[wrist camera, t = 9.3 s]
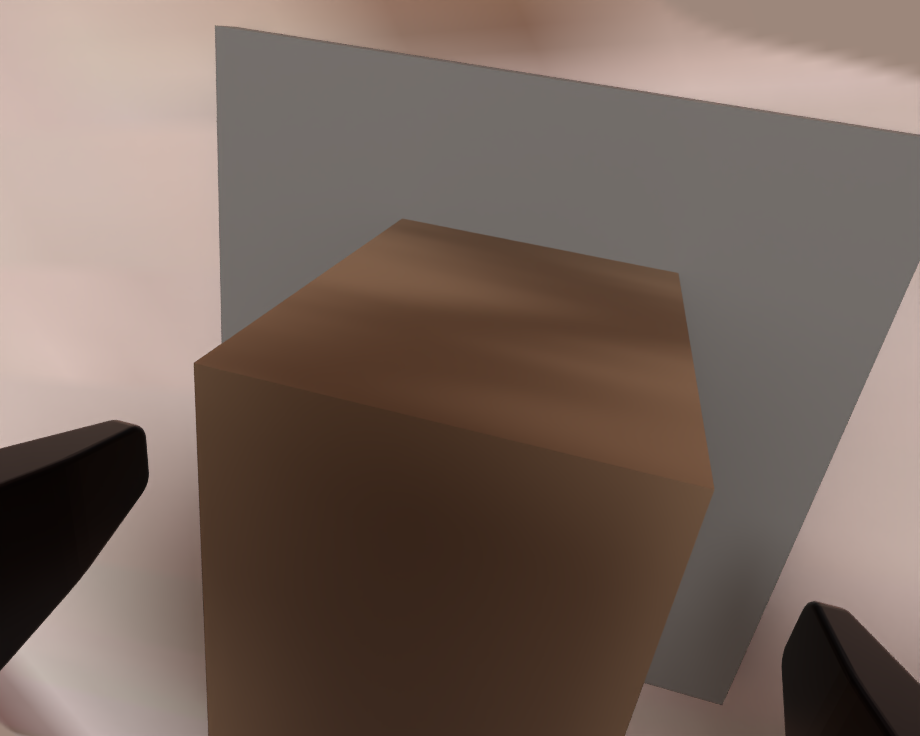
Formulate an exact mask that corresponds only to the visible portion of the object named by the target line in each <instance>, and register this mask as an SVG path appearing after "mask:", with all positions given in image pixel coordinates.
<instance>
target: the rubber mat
mask: <svg viewBox="0 0 920 736" xmlns="http://www.w3.org/2000/svg"><path fill="white" fill-rule="evenodd" d="M215 47H216V95H217V143H218V190H219V238H220V286H221V334H222V343H223V342H225V341H226V340H228V339H229V338H231V337H232V336H233V335H235V334H236V333H238V332H239V331H241V330H242V329H244V328H245V327H246V326H248V325H249V324H251V323H252V322H254V321H255V320H257V319H258V318H259V317H261V316H262V315H264V314H265V313H267V312H268V311H270V310H271V309H272V308H274V307H275V306H277V305H278V304H280V303H281V302H283V301H284V300H285V299H287V298H288V297H290V296H291V295H293V294H294V293H295V292H297V291H298V290H300V289H301V288H303V287H304V286H306V285H307V284H308V283H310V282H311V281H313V280H314V279H316V278H317V277H319V276H320V275H321V274H323V273H324V272H326V271H327V270H329V269H330V268H332V267H333V266H334V265H336V264H337V263H339V262H340V261H342V260H343V259H344V258H346V257H347V256H349V255H350V254H352V253H353V252H355V251H356V250H357V249H359V248H360V247H362V246H363V245H365V244H366V243H368V242H369V241H370V240H372V239H373V238H375V237H376V236H378V235H379V234H381V233H382V232H383V231H385V230H386V229H388V228H389V227H391V226H392V225H393V224H395V223H396V222H398V221H399V220H401V219H402V218H403V219H408V220H413V221H418V222H423V223H428V224H433V225H438V226H443V227H448V228H453V229H458V230H463V231H468V232H473V233H479V234H484V235H489V236H494V237H499V238H504V239H509V240H514V241H519V242H524V243H529V244H534V245H539V246H544V247H549V248H554V249H559V250H564V251H570V252H575V253H580V254H585V255H590V256H595V257H600V258H605V259H610V260H615V261H620V262H625V263H630V264H635V265H640V266H645V267H650V268H655V269H661V270H666V271H671V272H676V273H678V274H679V280H680V286H681V292H682V298H683V304H684V310H685V316H686V322H687V328H688V334H689V340H690V346H691V352H692V358H693V364H694V370H695V376H696V382H697V388H698V394H699V400H700V406H701V412H702V418H703V424H704V430H705V436H706V442H707V448H708V454H709V460H710V466H711V472H712V478H713V484H714V492H713V495H712V498H711V501H710V503H709V506H708V509H707V512H706V514H705V517H704V520H703V522H702V525H701V528H700V531H699V533H698V536H697V539H696V542H695V544H694V547H693V550H692V553H691V555H690V558H689V561H688V564H687V566H686V569H685V572H684V575H683V577H682V580H681V583H680V585H679V588H678V591H677V594H676V596H675V599H674V602H673V605H672V607H671V610H670V613H669V616H668V618H667V621H666V624H665V627H664V629H663V632H662V635H661V637H660V640H659V643H658V646H657V648H656V651H655V654H654V657H653V659H652V662H651V665H650V668H649V670H648V673H647V676H646V679H645V681H644V683H647V684H650V685H654V686H657V687H661V688H664V689H668V690H671V691H675V692H678V693H682V694H685V695H688V696H692V697H695V698H699V699H702V700H706V701H709V702H713V703H716V704H720V705H722V704H723V702H724V700H725V698H726V695H727V693H728V691H729V689H730V686H731V684H732V682H733V680H734V677H735V675H736V673H737V671H738V668H739V666H740V664H741V662H742V659H743V657H744V655H745V653H746V650H747V648H748V646H749V644H750V641H751V639H752V637H753V635H754V632H755V630H756V628H757V626H758V623H759V621H760V619H761V617H762V614H763V612H764V610H765V608H766V605H767V603H768V601H769V599H770V596H771V594H772V592H773V590H774V587H775V585H776V583H777V581H778V578H779V576H780V574H781V572H782V569H783V567H784V565H785V563H786V560H787V558H788V556H789V554H790V551H791V549H792V547H793V545H794V542H795V540H796V538H797V536H798V533H799V531H800V529H801V527H802V524H803V522H804V520H805V518H806V515H807V513H808V511H809V509H810V506H811V504H812V502H813V500H814V497H815V495H816V493H817V491H818V488H819V486H820V484H821V482H822V479H823V477H824V475H825V473H826V470H827V468H828V466H829V464H830V461H831V459H832V457H833V455H834V452H835V450H836V448H837V446H838V443H839V441H840V439H841V437H842V434H843V432H844V430H845V428H846V425H847V423H848V421H849V419H850V416H851V414H852V412H853V410H854V407H855V405H856V403H857V401H858V398H859V396H860V394H861V391H862V389H863V387H864V385H865V382H866V380H867V378H868V376H869V373H870V371H871V369H872V367H873V364H874V362H875V360H876V358H877V355H878V353H879V351H880V349H881V346H882V344H883V342H884V340H885V337H886V335H887V333H888V331H889V328H890V326H891V324H892V322H893V319H894V317H895V315H896V313H897V310H898V308H899V306H900V304H901V301H902V299H903V297H904V295H905V292H906V290H907V288H908V286H909V283H910V281H911V279H912V277H913V274H914V272H915V270H916V268H917V265H918V263H919V261H920V135H917V134H911V133H904V132H898V131H892V130H885V129H879V128H873V127H866V126H860V125H854V124H847V123H841V122H835V121H828V120H822V119H816V118H809V117H803V116H797V115H790V114H784V113H778V112H771V111H765V110H759V109H752V108H746V107H740V106H733V105H727V104H721V103H714V102H708V101H702V100H695V99H689V98H683V97H676V96H670V95H664V94H657V93H651V92H645V91H638V90H632V89H626V88H619V87H613V86H607V85H600V84H594V83H588V82H581V81H575V80H569V79H562V78H556V77H550V76H543V75H537V74H531V73H524V72H518V71H512V70H505V69H499V68H493V67H486V66H480V65H474V64H467V63H461V62H455V61H448V60H442V59H436V58H429V57H423V56H417V55H410V54H404V53H398V52H391V51H385V50H378V49H372V48H366V47H359V46H353V45H347V44H340V43H334V42H328V41H321V40H315V39H309V38H302V37H296V36H290V35H283V34H277V33H271V32H264V31H258V30H252V29H245V28H239V27H229V26H215Z"/></svg>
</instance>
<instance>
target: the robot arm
mask: <svg viewBox="0 0 920 736" xmlns="http://www.w3.org/2000/svg"><path fill="white" fill-rule="evenodd" d="M148 477H149V469H148V456H147V444H146V435H145V432H144V430H143V429H142V428H141V427H140V426H138V425H134V424H131V423H127V422H123V421H119V420H111V421H106V422H103V423H99V424H95V425H91V426H87V427H83V428H79V429H75V430H71V431H67V432H63V433H59V434H55V435H52V436H48V437H44V438H40V439H36V440H32V441H28V442H24V443H20V444H16V445H12V446H8V447H4V448H1V449H0V671H1V670H2V668H3V667H4V666H5V665H6V664H7V663H8V662H9V661H10V659H11V658H12V657H13V656H14V655H15V654H16V653H17V651H18V650H19V649H20V648H21V647H22V646H23V645H24V643H25V642H26V641H27V640H28V639H29V638H30V637H31V635H32V634H33V633H34V632H35V631H36V630H37V629H38V627H39V626H40V625H41V624H42V623H43V622H44V621H45V619H46V618H47V617H48V616H49V615H50V614H51V613H52V611H53V610H54V609H55V608H56V607H57V606H58V605H59V603H60V602H61V601H62V600H63V599H64V598H65V597H66V595H67V594H68V593H69V592H70V591H71V590H72V588H73V587H74V586H75V585H76V584H77V582H78V581H79V580H80V579H81V578H82V576H83V575H84V574H85V572H86V571H87V570H88V568H89V567H90V566H91V564H92V563H93V562H94V560H95V559H96V558H97V556H98V555H99V553H100V552H101V551H102V549H103V548H104V546H105V545H106V544H107V542H108V541H109V539H110V538H111V537H112V535H113V534H114V532H115V531H116V530H117V528H118V527H119V525H120V524H121V523H122V521H123V520H124V518H125V517H126V516H127V514H128V513H129V511H130V510H131V509H132V507H133V506H134V504H135V503H136V502H137V500H138V499H139V497H140V496H141V495H142V493H143V491H144V490H145V488H146V485H147V482H148ZM782 682H783V700H784V718H785V736H920V684H919V683H918V682H917V681H916V680H915V679H914V678H913V677H912V676H911V675H910V674H909V673H908V672H907V671H906V670H905V668H904V667H903V666H902V665H901V664H900V663H899V662H898V661H897V660H896V659H895V658H894V657H893V656H892V655H891V654H890V653H889V652H888V651H887V650H886V649H885V648H884V647H883V646H882V645H881V644H880V643H879V642H878V641H877V640H876V639H875V638H874V637H873V636H872V635H871V634H870V633H869V632H868V631H867V630H866V629H865V628H864V627H863V626H862V625H861V624H860V623H859V621H858V620H857V619H856V618H855V617H854V616H853V615H852V614H851V613H849V612H848V611H847V610H845V609H843V608H840V607H836V606H832V605H828V604H824V603H820V602H817V601H813V602H810V603H808V604H807V605H806V606H805V607H804V609H803V611H802V613H801V615H800V617H799V619H798V621H797V623H796V625H795V627H794V629H793V632H792V634H791V636H790V638H789V640H788V642H787V644H786V646H785V649H784V652H783V657H782Z"/></svg>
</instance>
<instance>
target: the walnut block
mask: <svg viewBox="0 0 920 736" xmlns="http://www.w3.org/2000/svg"><path fill="white" fill-rule="evenodd" d="M194 382H195V407H196V433H197V458H198V483H199V509H200V534H201V559H202V584H203V610H204V635H205V660H206V685H207V711H208V736H625V733H626V731H627V728H628V725H629V722H630V720H631V717H632V714H633V711H634V709H635V706H636V703H637V700H638V698H639V695H640V692H641V690H642V687H643V684H644V681H645V679H646V676H647V673H648V670H649V668H650V665H651V662H652V659H653V657H654V654H655V651H656V648H657V646H658V643H659V640H660V637H661V635H662V632H663V629H664V627H665V624H666V621H667V618H668V616H669V613H670V610H671V607H672V605H673V602H674V599H675V596H676V594H677V591H678V588H679V585H680V583H681V580H682V577H683V575H684V572H685V569H686V566H687V564H688V561H689V558H690V555H691V553H692V550H693V547H694V544H695V542H696V539H697V536H698V533H699V531H700V528H701V525H702V522H703V520H704V517H705V514H706V512H707V509H708V506H709V503H710V501H711V498H712V495H713V492H714V484H713V478H712V472H711V466H710V460H709V454H708V448H707V442H706V436H705V430H704V424H703V418H702V412H701V406H700V400H699V394H698V388H697V382H696V376H695V370H694V364H693V358H692V352H691V346H690V340H689V334H688V328H687V322H686V316H685V310H684V304H683V298H682V292H681V286H680V280H679V274H678V273H676V272H671V271H666V270H661V269H655V268H650V267H645V266H640V265H635V264H630V263H625V262H620V261H615V260H610V259H605V258H600V257H595V256H590V255H585V254H580V253H575V252H570V251H564V250H559V249H554V248H549V247H544V246H539V245H534V244H529V243H524V242H519V241H514V240H509V239H504V238H499V237H494V236H489V235H484V234H479V233H473V232H468V231H463V230H458V229H453V228H448V227H443V226H438V225H433V224H428V223H423V222H418V221H413V220H408V219H403V218H402V219H401V220H399V221H398V222H396V223H395V224H393V225H392V226H391V227H389V228H388V229H386V230H385V231H383V232H382V233H381V234H379V235H378V236H376V237H375V238H373V239H372V240H370V241H369V242H368V243H366V244H365V245H363V246H362V247H360V248H359V249H357V250H356V251H355V252H353V253H352V254H350V255H349V256H347V257H346V258H344V259H343V260H342V261H340V262H339V263H337V264H336V265H334V266H333V267H332V268H330V269H329V270H327V271H326V272H324V273H323V274H321V275H320V276H319V277H317V278H316V279H314V280H313V281H311V282H310V283H308V284H307V285H306V286H304V287H303V288H301V289H300V290H298V291H297V292H295V293H294V294H293V295H291V296H290V297H288V298H287V299H285V300H284V301H283V302H281V303H280V304H278V305H277V306H275V307H274V308H272V309H271V310H270V311H268V312H267V313H265V314H264V315H262V316H261V317H259V318H258V319H257V320H255V321H254V322H252V323H251V324H249V325H248V326H246V327H245V328H244V329H242V330H241V331H239V332H238V333H236V334H235V335H233V336H232V337H231V338H229V339H228V340H226V341H225V342H223V343H222V344H221V345H219V346H218V347H216V348H215V349H213V350H212V351H210V352H209V353H208V354H206V355H205V356H203V357H202V358H200V359H199V360H197V361H196V362H195V363H194Z"/></svg>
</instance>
